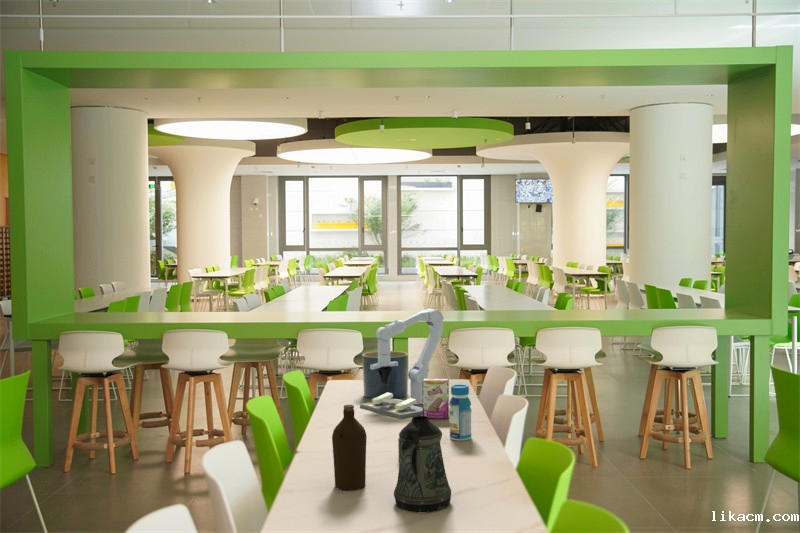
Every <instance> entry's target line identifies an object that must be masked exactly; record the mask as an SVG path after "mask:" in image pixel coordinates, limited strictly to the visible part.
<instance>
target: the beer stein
mask: <svg viewBox="0 0 800 533" xmlns="http://www.w3.org/2000/svg"><path fill="white" fill-rule="evenodd" d="M399 437H400V440H401V442H402V446H401V448H400V451H399V450H398V462H399V464H398V473H397V474H398V475H397V482H396V485H395V488H394V491H393V498H394V499H395V505H396V507H397V508H399V509H400V510H402V511H407V512H411V513H418V512H425V513H434V512H433V511H435V512H440V511H442V510H445V509H446V508H448V507H449V506H450V504H451V498H452V489H451V486H450V485H449V481H448V478H447V474H446V469H445V464H444V463H445V462H444V458H443V453H442V446H441V440H442V439H443V438H442V437H443V432H442V430H441V429H440V428H439V427H438V426H436V425H435V424H434V423H433V422H432V421H430V419H428V418H427V417H426V416H423V415H417V416H412V417H411V420H410V421H409V423H407V424H406V425H405V426H404V427H403V428H401V430H400V432H399V433H398V438H399Z"/></svg>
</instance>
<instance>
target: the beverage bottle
mask: <svg viewBox="0 0 800 533" xmlns="http://www.w3.org/2000/svg"><path fill="white" fill-rule="evenodd" d="M450 394H451V398H450V399H449V438H450V439H451V440H453V441H457V442H458V441H459V442H460V441H469V440H471V439H472V408H471V406H472V402H471V400H470V397H468V396H469V394H470V387H469V385H468V384H453V385H451V386H450Z"/></svg>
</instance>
